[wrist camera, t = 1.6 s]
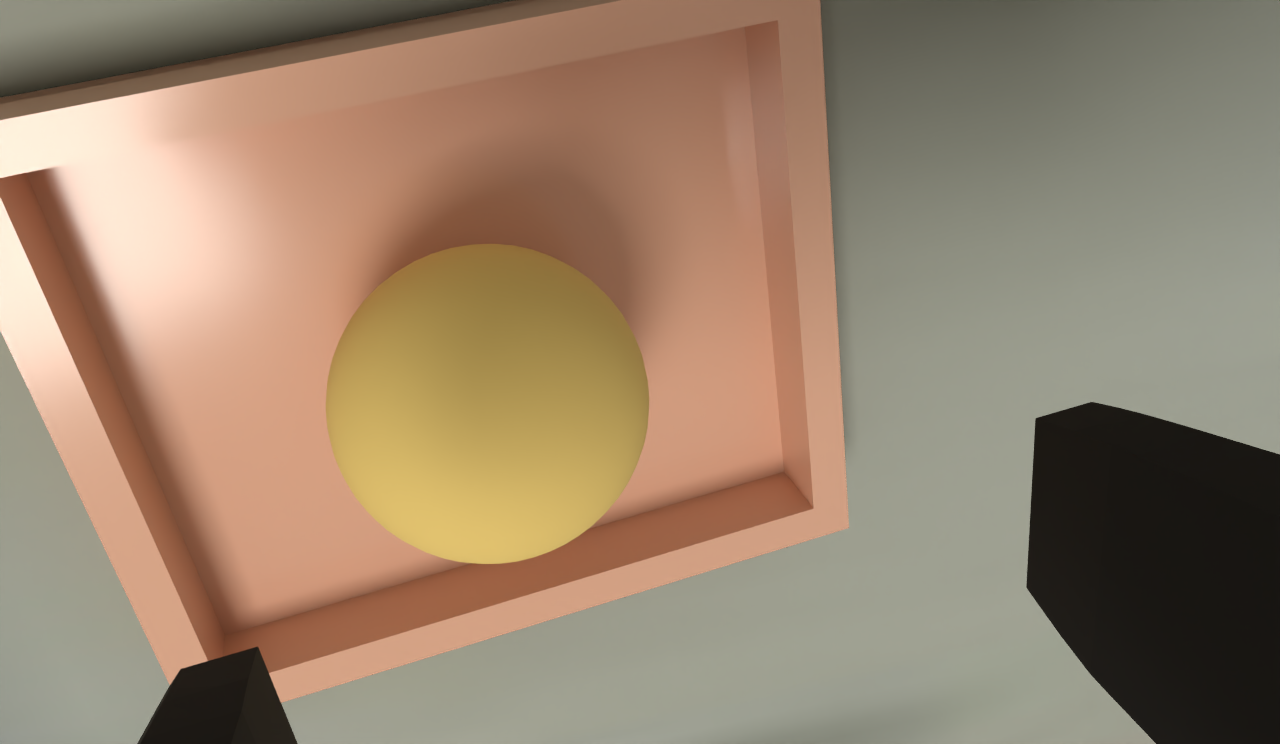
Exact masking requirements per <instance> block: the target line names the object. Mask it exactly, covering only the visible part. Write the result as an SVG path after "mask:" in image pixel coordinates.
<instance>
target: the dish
mask: <svg viewBox="0 0 1280 744" xmlns="http://www.w3.org/2000/svg"><path fill="white" fill-rule="evenodd" d="M473 244H503V245H514V246H518V247H523V248H528V249H532V250H535V251H538V252H541V253H544V254H546V255H549V256H552V257H554V258H556V259H558V260H560V261H562V262H564V263H565V264H567V265H569V266H571V267H573V268H575V269H576V270H578V271H579V272H581V273H582V274H583V275H585V276H586V277H588V278H589V279H590V280H591V281H593V282H594V283H595V284H596V285H597V286H598V287H599V288H600V289H601V290H602V291H603V292H604V293H605V294H606V295H607V296H608V297H609V298H610V299H611V300H612V302H613V303H614V304H615V305H616V307H617V308H618V309H619V311H620V312H621V313H622V315H623V316H624V318H625V320H626V322H627V323H628V325H629V327H630V329H631V330H632V332H633V334H634V336H635V338H636V341H637V343H638V346H639V348H640V351H641V353H642V357H643V361H644V366H645V370H646V374H647V379H648V387H649V399H650V400H649V416H648V428H647V433H646V438H645V443H644V446H643V449H642V452H641V455H640V458H639V461H638V463H637V466H636V468H635V470H634V472H633V474H632V476H631V478H630V480H629V482H628V484H627V486H626V487H625V489H624V490H623V492H622V493H621V495H620V496H619V498H618V499H617V500H616V501H615V503H614V504H613V505H612V506H611V507H610V509H609V510H608V511H607V512H606V513H605V514H604V515H603V516H602V517H601V518H600V519H599V520H598V521H597V522H596V523H595V524H594V525H592V526H591V527H590V528H589V529H587V530H586V531H585V532H583V533H582V534H581V535H580V536H578V537H576V538H575V539H573V540H571V541H570V542H568V543H567V544H565V545H563V546H561V547H559V548H557V549H555V550H552V551H550V552H548V553H545V554H542V555H539V556H537V557H534V558H530V559H525V560H521V561H517V562H510V563H502V564H476V563H465V562H458V561H453V560H448V559H444V558H440V557H438V556H435V555H432V554H429V553H426V552H424V551H422V550H420V549H418V548H416V547H414V546H412V545H410V544H408V543H406V542H404V541H402V540H401V539H399V538H398V537H396V536H395V535H393V534H392V533H390V532H389V531H387V530H386V529H385V528H384V527H383V526H382V525H381V524H380V523H378V522H377V521H376V520H375V519H374V518H373V517H372V516H371V515H370V514H369V513H368V512H367V511H366V509H365V508H364V507H363V506H362V505H361V504H360V502H359V501H358V500H357V499H356V498H355V496H354V494H353V493H352V491H351V489H350V488H349V486H348V484H347V483H346V481H345V479H344V477H343V475H342V474H341V471H340V469H339V467H338V464H337V462H336V459H335V457H334V454H333V450H332V446H331V442H330V438H329V433H328V428H327V419H326V408H325V407H326V392H327V381H328V375H329V371H330V366H331V362H332V358H333V355H334V353H335V350H336V348H337V345H338V342H339V340H340V338H341V336H342V334H343V332H344V330H345V328H346V327H347V325H348V323H349V321H350V319H351V317H352V316H353V315H354V313H355V312H356V311H357V309H358V308H359V307H360V305H361V304H362V303H363V301H364V300H365V299H366V298H367V297H368V296H369V295H370V294H371V293H372V292H373V291H374V290H375V289H376V288H377V287H378V286H379V285H380V284H381V283H383V282H384V281H385V280H387V279H388V278H389V277H390V276H392V275H393V274H394V273H396V272H397V271H399V270H401V269H402V268H404V267H406V266H407V265H409V264H411V263H412V262H414V261H416V260H419V259H421V258H423V257H425V256H428V255H430V254H432V253H436V252H439V251H442V250H446V249H449V248H454V247H460V246H466V245H473ZM0 331H1V333H2V335H3V337H4V339H5V341H6V343H7V345H8V347H9V349H10V352H11V354H12V356H13V358H14V360H15V362H16V364H17V366H18V368H19V370H20V372H21V375H22V377H23V379H24V381H25V383H26V385H27V387H28V389H29V391H30V393H31V395H32V398H33V400H34V402H35V404H36V406H37V408H38V410H39V412H40V414H41V416H42V418H43V421H44V423H45V425H46V427H47V429H48V431H49V433H50V435H51V437H52V439H53V441H54V444H55V446H56V448H57V450H58V452H59V454H60V456H61V458H62V460H63V462H64V464H65V467H66V469H67V471H68V473H69V475H70V477H71V479H72V481H73V483H74V485H75V487H76V490H77V492H78V494H79V496H80V498H81V500H82V502H83V504H84V506H85V508H86V510H87V513H88V515H89V517H90V519H91V521H92V523H93V525H94V527H95V529H96V531H97V533H98V536H99V538H100V540H101V542H102V544H103V546H104V548H105V550H106V552H107V554H108V557H109V559H110V561H111V563H112V565H113V567H114V569H115V571H116V573H117V575H118V577H119V580H120V582H121V584H122V586H123V588H124V590H125V592H126V594H127V596H128V598H129V600H130V603H131V605H132V607H133V609H134V611H135V613H136V615H137V617H138V619H139V621H140V623H141V626H142V628H143V630H144V632H145V634H146V636H147V638H148V640H149V642H150V644H151V646H152V649H153V651H154V653H155V655H156V657H157V659H158V661H159V663H160V665H161V667H162V669H163V672H164V674H165V676H166V678H167V680H168V682H169V684H171V683H172V681H173V680H174V678H175V677H176V675H177V674H178V672H179V671H180V669H182V668H186V667H189V666H193V665H196V664H199V663H203V662H206V661H210V660H213V659H216V658H220V657H223V656H227V655H230V654H234V653H237V652H240V651H244V650H247V649H251V648H254V647H257V646H258V647H259V650H260V652H261V655H262V657H263V660H264V662H265V665H266V667H267V670H268V672H269V675H270V677H271V680H272V682H273V685H274V687H275V690H276V692H277V694H278V697H279V699H280V702H281V703H282V702H285V701H288V700H291V699H295V698H298V697H301V696H304V695H308V694H311V693H314V692H317V691H321V690H324V689H327V688H330V687H334V686H337V685H340V684H343V683H347V682H350V681H353V680H356V679H360V678H363V677H366V676H369V675H373V674H376V673H379V672H382V671H386V670H389V669H392V668H395V667H399V666H402V665H405V664H408V663H412V662H415V661H418V660H421V659H425V658H428V657H431V656H434V655H438V654H441V653H444V652H447V651H451V650H454V649H457V648H460V647H464V646H467V645H470V644H473V643H477V642H480V641H483V640H486V639H490V638H493V637H496V636H499V635H503V634H506V633H509V632H512V631H516V630H519V629H522V628H525V627H529V626H532V625H535V624H538V623H542V622H545V621H548V620H551V619H555V618H558V617H561V616H564V615H567V614H571V613H574V612H577V611H580V610H584V609H587V608H590V607H593V606H597V605H600V604H603V603H606V602H610V601H613V600H616V599H619V598H623V597H626V596H629V595H632V594H636V593H639V592H642V591H645V590H649V589H652V588H655V587H658V586H662V585H665V584H668V583H671V582H675V581H678V580H681V579H684V578H688V577H691V576H694V575H697V574H701V573H704V572H707V571H710V570H714V569H717V568H720V567H723V566H727V565H730V564H733V563H736V562H740V561H743V560H746V559H749V558H753V557H756V556H759V555H762V554H766V553H769V552H772V551H775V550H779V549H782V548H785V547H788V546H792V545H795V544H798V543H801V542H805V541H808V540H811V539H814V538H818V537H821V536H824V535H827V534H831V533H834V532H837V531H840V530H844V529H847V528H849V520H848V502H847V484H846V465H845V447H844V429H843V410H842V392H841V374H840V355H839V337H838V319H837V300H836V282H835V264H834V245H833V227H832V209H831V190H830V172H829V154H828V135H827V117H826V99H825V80H824V62H823V44H822V25H821V7H820V0H514V1H509V2H503V3H498V4H493V5H487V6H482V7H477V8H472V9H466V10H461V11H456V12H450V13H445V14H440V15H435V16H429V17H424V18H419V19H413V20H408V21H403V22H398V23H392V24H387V25H382V26H376V27H371V28H366V29H361V30H355V31H350V32H345V33H340V34H334V35H329V36H324V37H318V38H313V39H308V40H303V41H297V42H292V43H287V44H281V45H276V46H271V47H266V48H260V49H255V50H250V51H244V52H239V53H234V54H229V55H223V56H218V57H213V58H207V59H202V60H197V61H192V62H186V63H181V64H176V65H170V66H165V67H160V68H155V69H149V70H144V71H139V72H133V73H128V74H123V75H118V76H112V77H107V78H102V79H96V80H91V81H86V82H81V83H75V84H70V85H65V86H59V87H54V88H49V89H44V90H38V91H33V92H28V93H22V94H17V95H12V96H7V97H1V98H0Z"/></svg>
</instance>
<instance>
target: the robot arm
mask: <svg viewBox="0 0 1280 744" xmlns="http://www.w3.org/2000/svg"><path fill="white" fill-rule="evenodd" d="M1027 589H1028V590H1029V592H1030V593H1031V595H1032V596H1033V597H1034V599H1035V600H1036V602H1037V603H1038V604H1039V606H1040V607H1041V609H1042V610H1043V611H1044V613H1045V614H1046V616H1047V617H1048V618H1049V620H1050V621H1051V623H1052V624H1053V625H1054V627H1055V628H1056V630H1057V631H1058V632H1059V634H1060V635H1061V637H1062V638H1063V639H1064V640H1065V642H1066V643H1067V644H1068V646H1069V647H1070V648H1071V650H1072V651H1073V652H1074V653H1075V655H1076V656H1077V657H1078V659H1079V660H1080V661H1081V662H1082V664H1083V665H1084V666H1085V668H1086V669H1087V670H1088V672H1089V673H1090V674H1091V675H1092V676H1093V677H1094V678H1095V680H1096V681H1097V682H1098V683H1099V684H1100V685H1101V686H1102V687H1103V688H1104V689H1105V690H1106V691H1107V692H1108V694H1109V695H1110V696H1111V697H1112V698H1113V699H1114V700H1115V701H1116V702H1117V703H1118V704H1119V705H1120V706H1121V707H1122V708H1123V709H1124V710H1125V711H1126V712H1127V714H1128V715H1129V716H1130V717H1131V718H1132V719H1133V720H1134V721H1135V722H1136V723H1137V724H1138V725H1139V726H1140V727H1141V728H1142V729H1143V730H1144V731H1145V732H1146V733H1147V734H1148V736H1149V737H1150V738H1151V739H1152V740H1153V741H1154V742H1155V743H1156V744H1280V455H1279V454H1276V453H1273V452H1269V451H1266V450H1263V449H1259V448H1256V447H1253V446H1250V445H1246V444H1243V443H1240V442H1236V441H1233V440H1230V439H1227V438H1223V437H1220V436H1217V435H1213V434H1210V433H1207V432H1203V431H1200V430H1197V429H1193V428H1190V427H1187V426H1183V425H1180V424H1176V423H1173V422H1169V421H1166V420H1162V419H1159V418H1155V417H1152V416H1148V415H1144V414H1141V413H1137V412H1133V411H1129V410H1125V409H1121V408H1117V407H1112V406H1108V405H1103V404H1099V403H1094V402H1090V403H1087V404H1083V405H1080V406H1076V407H1073V408H1069V409H1066V410H1063V411H1059V412H1056V413H1052V414H1049V415H1046V416H1042V417H1039V418H1036V421H1035V440H1034V459H1033V477H1032V496H1031V514H1030V533H1029V551H1028V570H1027ZM138 744H297V741H296V739H295V736H294V734H293V732H292V729H291V727H290V724H289V722H288V719H287V717H286V714H285V712H284V709H283V707H282V704H281V702H280V699H279V697H278V694H277V692H276V690H275V687H274V685H273V682H272V680H271V677H270V675H269V672H268V670H267V667H266V665H265V662H264V660H263V657H262V655H261V652H260V650H259V647H258V646H257V647H254V648H251V649H247V650H244V651H240V652H237V653H234V654H230V655H227V656H223V657H220V658H216V659H213V660H210V661H206V662H203V663H199V664H196V665H193V666H189V667H186V668H182V669H180V671H179V672H178V674H177V675H176V677H175V678H174V680H173V681H172V683H171V684H170V686H169V688H168V690H167V692H166V693H165V695H164V697H163V699H162V700H161V702H160V704H159V706H158V707H157V709H156V711H155V713H154V715H153V716H152V718H151V720H150V722H149V724H148V726H147V727H146V729H145V731H144V733H143V735H142V736H141V738H140V740H139V742H138Z"/></svg>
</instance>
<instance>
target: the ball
mask: <svg viewBox="0 0 1280 744" xmlns="http://www.w3.org/2000/svg"><path fill="white" fill-rule="evenodd" d="M649 400H650V399H649V387H648V379H647V374H646V370H645V366H644V361H643V357H642V353H641V351H640V348H639V346H638V343H637V341H636V338H635V336H634V334H633V332H632V330H631V329H630V327H629V325H628V323H627V322H626V320H625V318H624V316H623V315H622V313H621V312H620V311H619V309H618V308H617V307H616V305H615V304H614V303H613V302H612V300H611V299H610V298H609V297H608V296H607V295H606V294H605V293H604V292H603V291H602V290H601V289H600V288H599V287H598V286H597V285H596V284H595V283H594V282H593V281H591V280H590V279H589V278H588V277H586V276H585V275H583V274H582V273H581V272H579V271H578V270H576V269H575V268H573V267H571V266H569V265H567V264H565V263H564V262H562V261H560V260H558V259H556V258H554V257H552V256H549V255H546V254H544V253H541V252H538V251H535V250H532V249H528V248H523V247H518V246H514V245H503V244H473V245H466V246H460V247H454V248H449V249H446V250H442V251H439V252H436V253H432V254H430V255H428V256H425V257H423V258H421V259H419V260H416V261H414V262H412V263H411V264H409V265H407V266H406V267H404V268H402V269H401V270H399V271H397V272H396V273H394V274H393V275H392V276H390V277H389V278H388V279H387V280H385V281H384V282H383V283H381V284H380V285H379V286H378V287H377V288H376V289H375V290H374V291H373V292H372V293H371V294H370V295H369V296H368V297H367V298H366V299H365V300H364V301H363V303H362V304H361V305H360V307H359V308H358V309H357V311H356V312H355V313H354V315H353V316H352V317H351V319H350V321H349V323H348V325H347V327H346V328H345V330H344V332H343V334H342V336H341V338H340V340H339V342H338V345H337V348H336V350H335V353H334V355H333V358H332V362H331V366H330V371H329V375H328V381H327V392H326V407H325V408H326V419H327V428H328V433H329V438H330V442H331V446H332V450H333V454H334V457H335V459H336V462H337V464H338V467H339V469H340V471H341V474H342V475H343V477H344V479H345V481H346V483H347V484H348V486H349V488H350V489H351V491H352V493H353V494H354V496H355V498H356V499H357V500H358V501H359V502H360V504H361V505H362V506H363V507H364V508H365V509H366V511H367V512H368V513H369V514H370V515H371V516H372V517H373V518H374V519H375V520H376V521H377V522H378V523H380V524H381V525H382V526H383V527H384V528H385V529H386V530H387V531H389V532H390V533H392V534H393V535H395V536H396V537H398V538H399V539H401V540H402V541H404V542H406V543H408V544H410V545H412V546H414V547H416V548H418V549H420V550H422V551H424V552H426V553H429V554H432V555H435V556H438V557H440V558H444V559H448V560H453V561H458V562H465V563H476V564H502V563H510V562H517V561H521V560H525V559H530V558H534V557H537V556H539V555H542V554H545V553H548V552H550V551H552V550H555V549H557V548H559V547H561V546H563V545H565V544H567V543H568V542H570V541H571V540H573V539H575V538H576V537H578V536H580V535H581V534H582V533H583V532H585V531H586V530H587V529H589V528H590V527H591V526H592V525H594V524H595V523H596V522H597V521H598V520H599V519H600V518H601V517H602V516H603V515H604V514H605V513H606V512H607V511H608V510H609V509H610V507H611V506H612V505H613V504H614V503H615V501H616V500H617V499H618V498H619V496H620V495H621V493H622V492H623V490H624V489H625V487H626V486H627V484H628V482H629V480H630V478H631V476H632V474H633V472H634V470H635V468H636V466H637V463H638V461H639V458H640V455H641V452H642V449H643V446H644V443H645V438H646V433H647V428H648V416H649Z"/></svg>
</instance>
